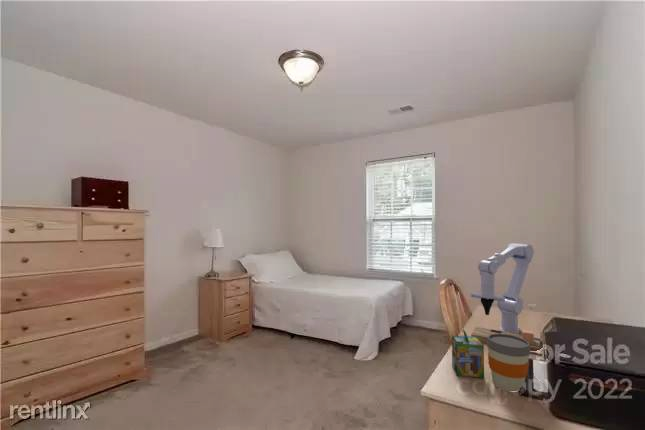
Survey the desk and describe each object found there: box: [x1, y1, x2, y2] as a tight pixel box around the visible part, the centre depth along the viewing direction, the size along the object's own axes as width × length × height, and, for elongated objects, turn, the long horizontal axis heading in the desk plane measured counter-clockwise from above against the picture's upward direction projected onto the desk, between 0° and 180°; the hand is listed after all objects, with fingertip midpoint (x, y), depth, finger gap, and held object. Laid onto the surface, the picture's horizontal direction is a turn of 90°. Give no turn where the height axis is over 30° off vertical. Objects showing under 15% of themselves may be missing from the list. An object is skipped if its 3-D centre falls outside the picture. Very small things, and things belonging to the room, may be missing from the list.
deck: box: [470, 326, 544, 351], centre depth 143 cm, size 13×27×6 cm, turn 54°
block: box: [521, 329, 535, 343], centre depth 139 cm, size 4×4×4 cm
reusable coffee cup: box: [486, 334, 531, 392], centre depth 106 cm, size 13×13×15 cm
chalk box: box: [451, 328, 485, 379], centre depth 116 cm, size 9×9×15 cm
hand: (487, 314), depth 151 cm, fingers closed
